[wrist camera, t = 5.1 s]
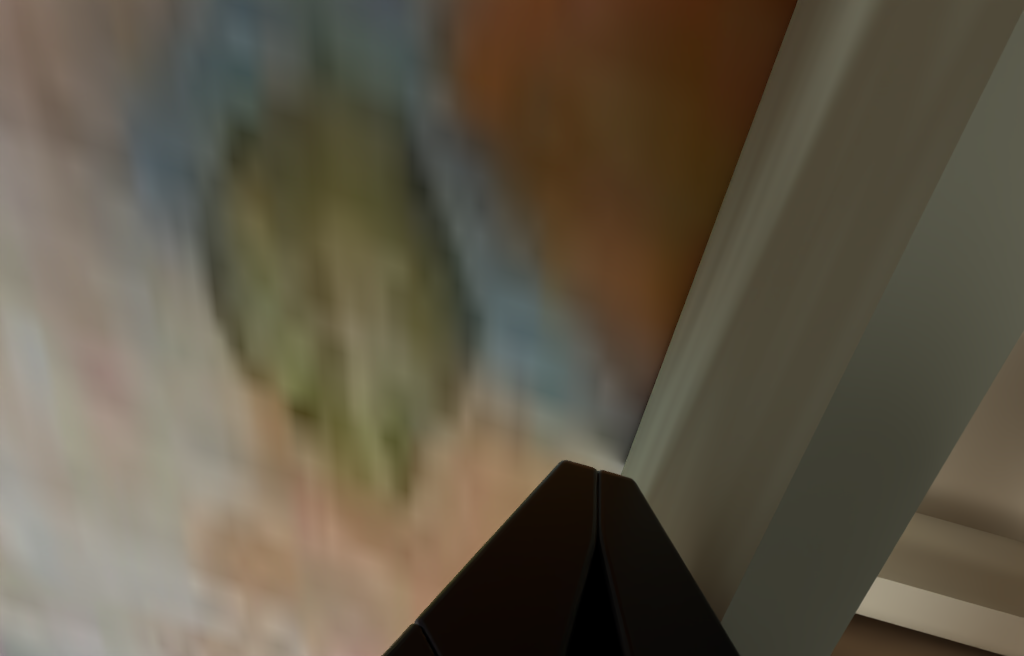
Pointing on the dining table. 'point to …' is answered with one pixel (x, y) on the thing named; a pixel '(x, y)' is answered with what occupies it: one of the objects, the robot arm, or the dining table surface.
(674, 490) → the drawer
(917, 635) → the caddy
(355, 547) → the dining table surface
